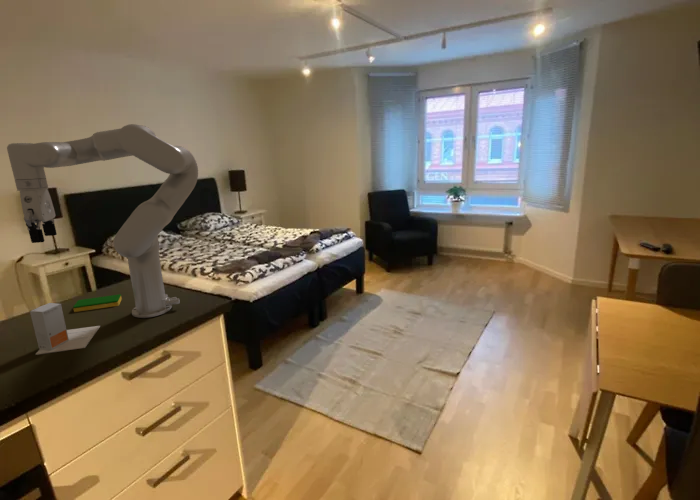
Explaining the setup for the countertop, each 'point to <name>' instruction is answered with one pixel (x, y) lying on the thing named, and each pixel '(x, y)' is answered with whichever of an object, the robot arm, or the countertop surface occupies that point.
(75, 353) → the countertop surface
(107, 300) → the dish sponge
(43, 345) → the skincare box
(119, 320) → the countertop surface
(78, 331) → the paper
